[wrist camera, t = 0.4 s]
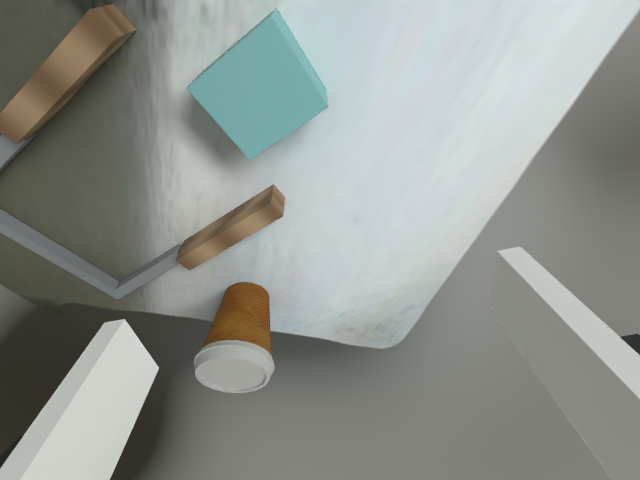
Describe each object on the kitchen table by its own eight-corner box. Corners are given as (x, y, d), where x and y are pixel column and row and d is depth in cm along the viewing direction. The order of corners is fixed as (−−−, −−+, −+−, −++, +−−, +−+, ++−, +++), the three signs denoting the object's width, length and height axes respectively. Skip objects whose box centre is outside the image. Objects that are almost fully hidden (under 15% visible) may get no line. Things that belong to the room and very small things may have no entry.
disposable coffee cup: (209, 309, 49) (186, 388, 40) (219, 267, 43) (195, 349, 34) (271, 320, 51) (262, 398, 42) (288, 282, 45) (283, 363, 36)
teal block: (276, 7, 25) (271, 15, 21) (325, 87, 29) (328, 107, 25) (203, 70, 28) (186, 88, 24) (256, 136, 31) (249, 160, 28)
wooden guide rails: (113, 3, 24) (89, 9, 22) (285, 197, 36) (283, 216, 33) (19, 110, 29) (-10, 125, 26) (197, 250, 41) (189, 270, 38)
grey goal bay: (19, 121, 30) (8, 127, 29) (188, 251, 41) (185, 259, 40) (-45, 192, 34) (-57, 200, 33) (122, 291, 46) (117, 299, 44)
